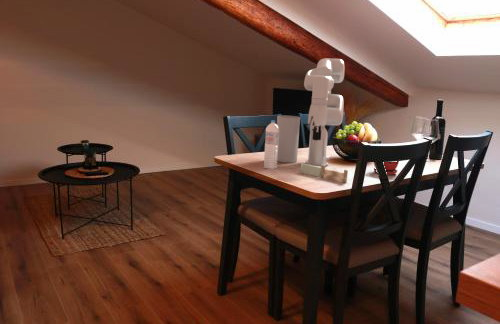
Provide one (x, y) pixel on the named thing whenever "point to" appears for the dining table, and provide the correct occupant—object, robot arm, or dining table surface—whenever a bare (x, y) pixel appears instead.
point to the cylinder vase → (288, 138)
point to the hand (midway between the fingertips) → (316, 139)
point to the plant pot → (390, 167)
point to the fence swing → (310, 170)
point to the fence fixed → (334, 175)
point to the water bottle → (271, 146)
